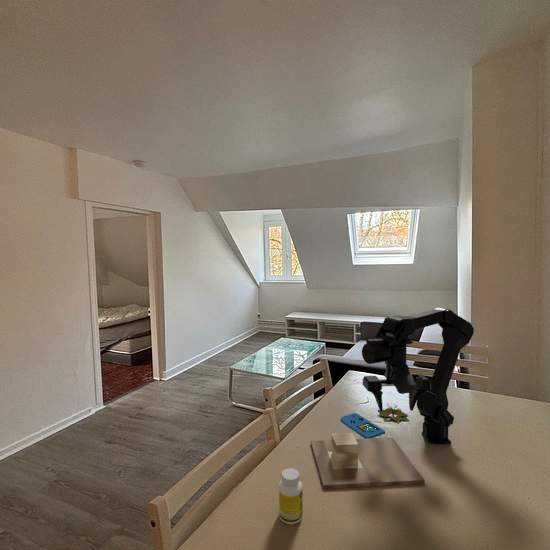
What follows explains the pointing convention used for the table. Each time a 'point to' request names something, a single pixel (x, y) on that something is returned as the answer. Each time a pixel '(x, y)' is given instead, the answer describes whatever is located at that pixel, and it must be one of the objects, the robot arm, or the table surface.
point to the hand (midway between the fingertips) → (396, 410)
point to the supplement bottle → (290, 497)
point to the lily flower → (393, 412)
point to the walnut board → (366, 465)
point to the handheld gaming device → (362, 425)
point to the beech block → (344, 449)
